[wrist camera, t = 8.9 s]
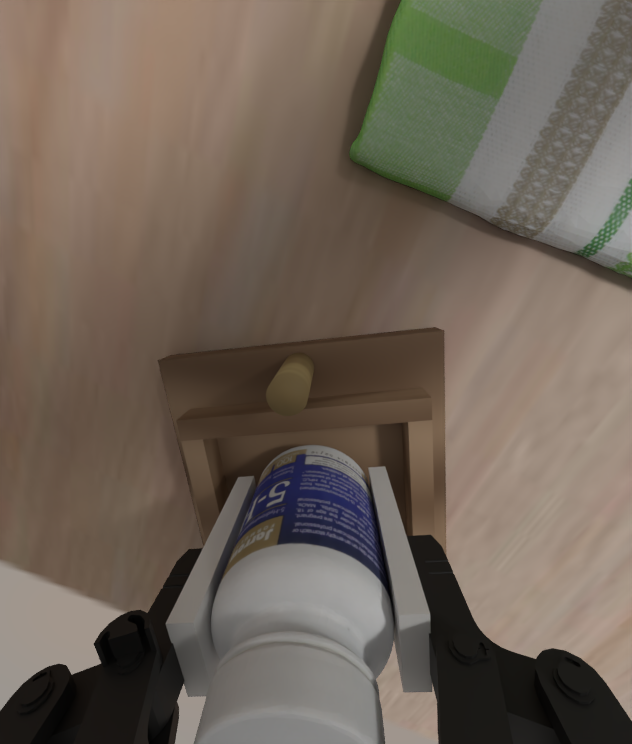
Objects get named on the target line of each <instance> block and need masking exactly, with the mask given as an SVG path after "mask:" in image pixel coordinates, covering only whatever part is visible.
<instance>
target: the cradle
mask: <svg viewBox="0 0 632 744" xmlns="http://www.w3.org/2000/svg"><path fill="white" fill-rule="evenodd" d="M158 363H159V367H160V371H161V375H162V379H163V383H164V387H165V391H166V395H167V399H168V403H169V407H170V412H171V416H172V420H173V424H174V428H175V432H176V436H177V440H178V444H179V448H180V452H181V456H182V460H183V464H184V468H185V472H186V476H187V480H188V484H189V488H190V492H191V497H192V501H193V505H194V509H195V513H196V517H197V521H198V525H199V529H200V533H201V537H202V541H203V545H205V543H206V541H207V539H208V537H209V535H210V533H211V531H212V529H213V527H214V525H215V523H216V521H217V519H218V517H219V515H220V513H221V511H222V509H223V507H224V505H225V503H226V501H227V499H228V497H229V495H230V493H231V491H232V489H233V487H234V485H235V483H236V481H237V479H238V477H246V476H254V478H255V483H256V488H257V485H258V482H259V480H260V477H261V475H262V473H263V471H264V470H265V468H266V467H267V466H268V465H269V463H270V462H271V461H272V460H273V459H274V458H275V457H277V456H278V455H279V454H281V453H283V452H285V451H287V450H289V449H291V448H294V447H298V446H304V445H321V446H326V447H330V448H333V449H336V450H338V451H340V452H342V453H344V454H346V455H347V456H349V457H350V458H351V459H353V460H354V461H355V462H356V463H357V464H358V465H359V467H360V468H361V469H362V471H363V472H364V474H365V476H366V478H367V480H368V483H369V470H368V468H369V467H382V466H385V467H386V471H387V474H388V477H389V480H390V484H391V487H392V490H393V494H394V497H395V500H396V503H397V507H398V510H399V513H400V517H401V520H402V523H403V526H404V530H405V533H406V536H415V535H432V536H433V537H434V538H435V539H436V540H437V542H438V543H439V544H440V545H441V546H442V548H443V550H444V552H445V555H446V483H445V376H444V330H441V329H438V328H435V327H434V328H424V329H415V330H406V331H396V332H387V333H377V334H368V335H358V336H349V337H339V338H330V339H320V340H311V341H302V342H292V343H283V344H273V345H264V346H254V347H245V348H235V349H226V350H216V351H207V352H198V353H188V354H179V355H170V356H168V357H165V358H163V359H160V360H158ZM369 486H370V483H369Z"/></svg>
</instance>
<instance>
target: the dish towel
mask: <svg viewBox="0 0 632 744" xmlns="http://www.w3.org/2000/svg"><path fill="white" fill-rule="evenodd" d="M349 155H350V159H351V160H353V161H354V162H355V163H358V164H360V165H362V166H364V167H366V168H368V169H370V170H371V171H373V172H375V173H377V174H379V175H381V176H383V177H385V178H388V179H390V180H393V181H396V182H398V183H401V184H404V185H407V186H410V187H412V188H415V189H417V190H420V191H422V192H424V193H427V194H429V195H432V196H434V197H437V198H439V199H442V200H444V201H447V202H449V203H451V204H453V205H455V206H457V207H459V208H462V209H464V210H467V211H469V212H471V213H474V214H476V215H478V216H480V217H482V218H483V219H485V220H486V221H488V222H490V223H491V224H494V225H496V226H498V227H500V228H502V229H504V230H508V231H510V232H512V233H515V234H517V235H520V236H523V237H526V238H530V239H533V240H536V241H540V242H543V243H546V244H548V245H551V246H553V247H556V248H559V249H562V250H566V251H569V252H573V253H575V254H578V255H581V256H583V257H585V258H587V259H589V260H591V261H593V262H595V263H598V264H600V265H602V266H604V267H607V268H609V269H611V270H614V271H615V272H617V273H620V274H624V275H626V276H628V277H630V278H632V0H401V2H400V4H399V7H398V9H397V11H396V13H395V16H394V18H393V21H392V24H391V27H390V30H389V32H388V36H387V40H386V44H385V48H384V52H383V57H382V62H381V65H380V69H379V73H378V76H377V80H376V83H375V87H374V91H373V94H372V97H371V100H370V103H369V106H368V108H367V112H366V115H365V118H364V121H363V125H362V128H361V131H360V133H359V135H358V137H357V138H356V140H355V141H354V142H353V143H352V146H351V148H350V152H349Z"/></svg>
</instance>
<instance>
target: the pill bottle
mask: <svg viewBox="0 0 632 744" xmlns="http://www.w3.org/2000/svg"><path fill="white" fill-rule="evenodd" d="M211 633H212V638H213V642H214V647H215V650H216V652H217V654H218V657H219V659H220V662H219V664H218V666H217V668H216V671H215V675H214V677H213V679H212V681H211V683H210V686H209V689H208V692H207V697H206V701H205V705H204V708H203V712H202V716H201V719H200V723H199V727H198V730H197V734H196V738H195V741H194V744H385V737H384V727H383V718H382V709H381V704H380V700H379V690H378V685H377V682H376V678H377V677H378V676H379V675H380V673H381V672H382V670H383V669H384V667H385V665H386V663H387V661H388V659H389V656H390V653H391V650H392V646H393V641H394V618H393V609H392V602H391V596H390V591H389V586H388V580H387V575H386V569H385V564H384V559H383V554H382V548H381V542H380V537H379V532H378V526H377V521H376V515H375V510H374V505H373V500H372V494H371V490H370V486H369V483H368V480H367V478H366V476H365V474H364V472H363V471H362V469H361V468H360V467H359V465H358V464H357V463H356V462H355V461H354V460H353V459H351V458H350V457H349V456H347V455H346V454H344V453H342V452H340V451H338V450H336V449H333V448H330V447H326V446H321V445H304V446H298V447H294V448H291V449H289V450H287V451H285V452H283V453H281V454H279V455H278V456H277V457H275V458H274V459H273V460H272V461H271V462H270V463H269V465H268V466H267V467H266V468H265V470H264V471H263V473H262V475H261V477H260V480H259V482H258V485H257V488H256V490H255V493H254V496H253V498H252V501H251V504H250V506H249V509H248V512H247V514H246V517H245V520H244V522H243V525H242V528H241V530H240V533H239V535H238V538H237V540H236V543H235V546H234V549H233V551H232V554H231V556H230V559H229V561H228V564H227V567H226V569H225V572H224V574H223V577H222V579H221V582H220V585H219V588H218V591H217V594H216V597H215V600H214V603H213V608H212V615H211Z"/></svg>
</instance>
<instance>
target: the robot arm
mask: <svg viewBox="0 0 632 744" xmlns="http://www.w3.org/2000/svg"><path fill="white" fill-rule="evenodd" d="M368 470H369V483H370V490H371V494H372V500H373V505H374V510H375V515H376V521H377V526H378V532H379V537H380V542H381V548H382V554H383V559H384V564H385V569H386V575H387V580H388V586H389V591H390V596H391V602H392V609H393V618H394V642H395V648H396V653H397V659H398V664H399V670H400V675H401V681H402V687H403V692H432V683H433V687H434V691H435V695H436V699H437V713H438V739H439V744H632V721H631V720H630V718H629V717H628V715H627V714H626V712H625V711H624V709H623V708H622V706H621V705H620V703H619V702H618V700H617V699H616V697H615V696H614V694H613V693H612V691H611V690H610V688H609V687H608V686H607V684H606V683H605V681H604V680H603V679H602V678H601V677H600V676H599V674H598V673H597V672H596V671H595V670H594V669H593V668H592V667H591V666H590V665H588V664H587V663H586V662H584V661H583V660H582V659H581V658H579V657H577V656H575V655H573V654H571V653H569V652H567V651H564V650H558V649H553V648H552V649H548V650H544V651H542V652H541V653H540V654H539V655H538V657H537V659H534V658H530V657H527V656H524V655H521V654H517V653H514V652H511V651H509V650H506V649H504V648H501V647H500V646H498V645H497V644H495V643H493V642H492V641H491V640H490V639H489V638H487V637H486V636H485V635H484V634H483V633H482V631H481V630H480V629H479V628H478V626H477V625H476V623H475V621H474V619H473V617H472V615H471V612H470V610H469V608H468V606H467V603H466V601H465V599H464V596H463V594H462V592H461V589H460V587H459V585H458V582H457V580H456V578H455V575H454V574H453V571H452V568H451V566H450V564H449V562H448V559H447V557H446V555H445V552H444V550H443V548H442V546H441V545H440V544H439V543H438V542H437V540H436V539H435V538H434V537H433V536H432V535H415V536H406V533H405V530H404V526H403V523H402V520H401V517H400V513H399V510H398V507H397V503H396V500H395V497H394V494H393V490H392V487H391V484H390V480H389V477H388V474H387V471H386V467H385V466H382V467H369V468H368ZM255 490H256V483H255V478H254V476H246V477H238V479H237V481H236V483H235V485H234V487H233V489H232V491H231V493H230V495H229V497H228V499H227V501H226V503H225V505H224V507H223V509H222V511H221V513H220V515H219V517H218V519H217V521H216V523H215V525H214V527H213V529H212V531H211V533H210V535H209V537H208V539H207V541H206V543H205V545H204V547H203V548H201V549H189V550H188V551H187V552H186V553H185V554H184V555H183V556H182V557H181V558H180V559H179V560H178V561H177V562H176V564H175V566H174V568H173V569H172V571H171V573H170V576H169V577H168V578H167V580H166V582H165V584H164V585H163V589H161V591H160V592H159V594H158V596H157V598H156V599H155V601H154V603H153V605H152V606H151V608H150V610H149V612H148V614H147V613H146V612H144V611H141V610H136V611H130V612H128V613H125V614H123V615H121V616H119V617H118V618H116V619H115V620H114V621H112V622H111V623H109V624H108V626H107V627H106V628H105V629H104V630H103V631H102V632H101V633H100V634H99V636H98V638H97V639H96V641H95V643H94V646H95V648H96V651H97V653H98V655H99V658H100V660H101V664H99V665H97V666H94V667H91V668H89V669H86V670H83V671H81V672H78V673H75V674H73V675H71V673H70V671H69V669H68V667H67V666H66V665H62V664H56V665H52V666H49V667H47V668H45V669H43V670H41V671H39V672H38V673H36V674H35V675H33V676H32V677H31V678H30V679H28V680H27V681H26V682H25V683H23V684H22V686H21V687H20V688H19V689H18V690H17V691H16V692H15V693H14V694H13V696H12V697H11V698H10V699H9V700H8V702H7V703H6V704H5V706H4V707H3V708H2V710H1V711H0V744H175V739H176V732H177V726H178V719H179V706H178V703H177V699H178V697H179V694H180V691H181V689H182V686H183V683H184V685H185V689H186V692H187V695H188V697H190V696H191V697H192V696H207V692H208V689H209V686H210V683H211V681H212V679H213V677H214V675H215V671H216V668H217V666H218V664H219V662H220V659H219V657H218V654H217V652H216V650H215V647H214V642H213V638H212V633H211V615H212V608H213V603H214V600H215V597H216V594H217V591H218V588H219V585H220V582H221V579H222V577H223V574H224V572H225V569H226V567H227V564H228V561H229V559H230V556H231V554H232V551H233V549H234V546H235V543H236V540H237V538H238V535H239V533H240V530H241V528H242V525H243V522H244V520H245V517H246V514H247V512H248V509H249V506H250V504H251V501H252V498H253V496H254V493H255Z"/></svg>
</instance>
